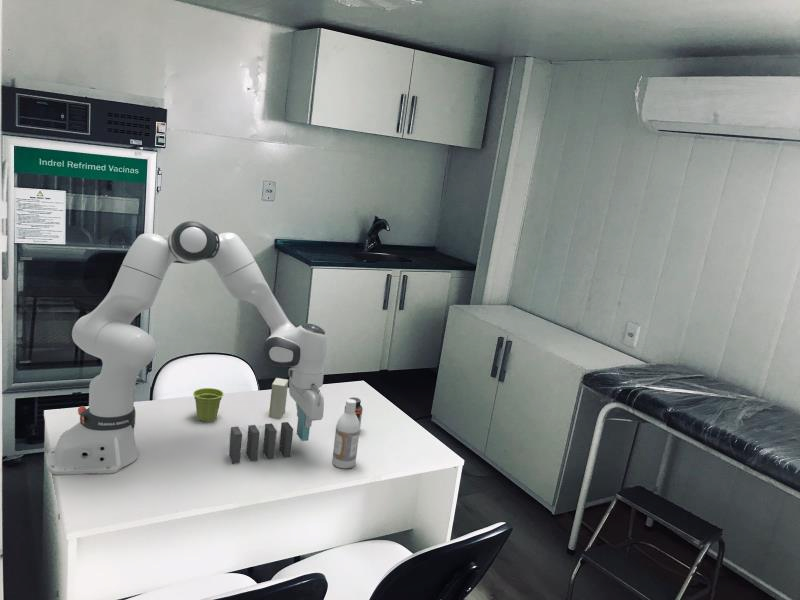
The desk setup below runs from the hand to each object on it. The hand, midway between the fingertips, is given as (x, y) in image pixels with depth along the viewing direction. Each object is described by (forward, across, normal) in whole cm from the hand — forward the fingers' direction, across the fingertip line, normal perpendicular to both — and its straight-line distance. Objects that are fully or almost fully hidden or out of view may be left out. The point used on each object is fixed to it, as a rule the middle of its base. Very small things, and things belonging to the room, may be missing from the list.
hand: (303, 421), depth 189 cm
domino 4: (+10, 0, +5) cm, 11 cm away
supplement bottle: (+10, +9, -21) cm, 25 cm away
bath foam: (+10, -10, -10) cm, 17 cm away
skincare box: (+10, +26, -1) cm, 28 cm away
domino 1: (+10, 0, +20) cm, 22 cm away
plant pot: (+10, +29, +22) cm, 38 cm away
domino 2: (+10, 0, +15) cm, 18 cm away
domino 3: (+10, 0, +10) cm, 14 cm away
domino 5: (+5, 0, 0) cm, 5 cm away
